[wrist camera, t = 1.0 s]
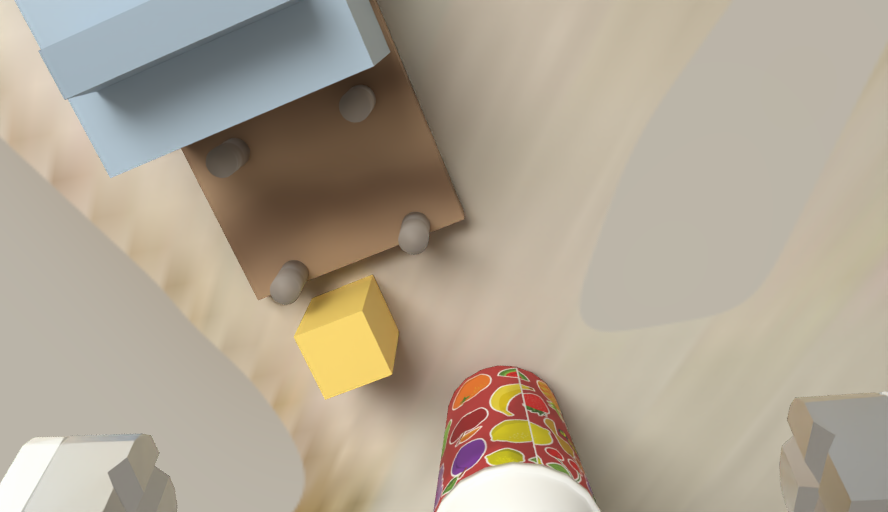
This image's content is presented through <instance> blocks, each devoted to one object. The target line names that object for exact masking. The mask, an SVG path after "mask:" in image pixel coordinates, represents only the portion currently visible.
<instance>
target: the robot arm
mask: <svg viewBox="0 0 888 512" xmlns="http://www.w3.org/2000/svg"><path fill="white" fill-rule="evenodd" d="M787 421H788V424H789V426H790V428H791V431H792V433H793V436H792V437H791V438H790V439H789V440H788V441H786V442H785V443H784V444H783V445H782V449H781V456H780V462H779V469H780V483H781V489H782V493H783V497H784V501H785V505H786V507H787V510H788V512H888V392H880V393H875V392H874V393H858V394H842V395H827V396H811V397H796V398H795V399H794V400H793V402H792V403H791V405H790V408H789V413H788V417H787ZM158 456H159V451H158V449H157V447H156V445H155V443H154V440H153V438H152V436H151V435H146V434H116V435H115V434H114V435H78V436H69V437H34V438H33V439H31V440H30V441H28V442H27V443H26V444H24V445H23V446H22V448H21V449H20V451H19V453H18V454H17V456H16V458H15V460H14V461H13V463H12V464H11V466H10V468H9V470H8V471H7V473H6V475H5V476H4V478H3V480H2V481H1V483H0V512H177V500H176V494H175V488H174V486H173V483H172V481H171V479H170V476H169V475H167V474H166V473H164V472H163V471H161V470H160V469H158V468H157V467H155V463H156V461H157V458H158Z"/></svg>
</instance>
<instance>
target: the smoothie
mask: <svg viewBox="0 0 888 512" xmlns="http://www.w3.org/2000/svg"><path fill="white" fill-rule="evenodd" d="M434 512H601V510H600V509H599V507H598V506H597V504H596V500H595V498H594V495H593V492H592V490H591V487H590V485H589V482H588V480H587V477H586V475H585V472H584V470H583V467H582V464H581V462H580V459H579V457H578V454H577V452H576V449H575V447H574V444H573V442H572V439H571V437H570V434H569V431H568V429H567V426H566V424H565V421H564V419H563V416H562V414H561V411H560V409H559V406H558V404H557V401H556V398H555V396H554V394H553V393H552V391H551V390H550V388H549V387H548V385H547V384H546V383H545V382H544V381H543V380H541V379H540V378H539V377H537V376H536V375H535V374H533V373H532V372H529V371H526V370H523V369H520V368H518V367H512V366H495V367H491V368H486V369H483V370H480V371H478V372H477V373H475V374H473V375H472V376H470V377H468V378H467V379H465V380H464V382H463V383H462V384H461V385H460V386H459V387H458V388H457V389H456V391H455V392H454V394H453V396H452V399H451V401H450V404H449V406H448V414H447V421H446V428H445V435H444V442H443V449H442V456H441V463H440V470H439V477H438V484H437V491H436V498H435V505H434Z"/></svg>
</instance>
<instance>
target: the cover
mask: <svg viewBox="0 0 888 512" xmlns="http://www.w3.org/2000/svg"><path fill="white" fill-rule="evenodd" d="M15 2H16V4H17V6H18V8H19V9H20V11H21V13H22V15H23V17H24V19H25V21H26V22H27V24H28V26H29V28H30V30H31V32H32V34H33V35H34V37H35V39H36V41H37V43H38V45H39V47H40V48H41V50H39V53H40V55H41V57H42V59H43V61H44V62H45V64H46V66H47V68H48V70H49V72H50V74H51V75H52V77H53V79H54V81H55V83H56V85H57V87H58V88H59V90H60V92H61V94H62V96H63V98H64V99H65V100H66V99H68V100H69V102H70V104H71V106H72V108H73V110H74V112H75V113H76V115H77V117H78V119H79V121H80V123H81V125H82V126H83V128H84V130H85V132H86V134H87V136H88V138H89V139H90V141H91V143H92V145H93V147H94V149H95V151H96V152H97V154H98V156H99V158H100V160H101V162H102V163H103V165H104V167H105V169H106V171H107V173H108V175H109V176H110V178H112V177H114V176H116V175H119V174H121V173H124V172H126V171H128V170H131V169H133V168H135V167H138V166H140V165H142V164H145V163H147V162H149V161H152V160H154V159H156V158H159V157H161V156H164V155H166V154H168V153H171V152H173V151H175V150H178V149H180V148H182V147H185V146H187V145H189V144H192V143H194V142H197V141H199V140H201V139H204V138H206V137H208V136H211V135H213V134H215V133H218V132H220V131H222V130H225V129H227V128H230V127H232V126H234V125H237V124H239V123H241V122H244V121H246V120H248V119H251V118H253V117H255V116H258V115H260V114H262V113H265V112H267V111H270V110H272V109H274V108H277V107H279V106H281V105H284V104H286V103H288V102H291V101H293V100H295V99H298V98H300V97H303V96H305V95H307V94H310V93H312V92H314V91H317V90H319V89H321V88H324V87H326V86H328V85H331V84H333V83H336V82H338V81H340V80H343V79H345V78H347V77H350V76H352V75H354V74H357V73H359V72H361V71H364V70H366V69H368V68H371V67H373V66H375V65H376V64H377V63H378V62H380V61H381V60H382V59H383V58H384V57H386V56H387V55H388V54H389V53H390V50H389V47H388V45H387V42H386V40H385V38H384V35H383V33H382V30H381V28H380V26H379V23H378V21H377V19H376V16H375V14H374V11H373V9H372V7H371V4H370V2H369V0H15Z"/></svg>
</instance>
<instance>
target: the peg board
mask: <svg viewBox="0 0 888 512" xmlns="http://www.w3.org/2000/svg"><path fill="white" fill-rule="evenodd" d="M369 2H370V4H371V7H372V9H373V11H374V14H375V16H376V19H377V21H378V23H379V26H380V28H381V30H382V33H383V35H384V38H385V40H386V42H387V45H388V47H389V50H390V53H389V54H388V55H387V56H386V57H384V58H383V59H382V60H381V61H380V62H378V63H377V64H376V65H375V66H373V67H371V68H368V69H366V70H364V71H361V72H359V73H357V74H354V75H352V76H350V77H347V78H345V79H343V80H340V81H338V82H336V83H333V84H331V85H328V86H326V87H324V88H321V89H319V90H317V91H314V92H312V93H310V94H307V95H305V96H303V97H300V98H298V99H295V100H293V101H291V102H288V103H286V104H284V105H281V106H279V107H277V108H274V109H272V110H270V111H267V112H265V113H262V114H260V115H258V116H255V117H253V118H251V119H248V120H246V121H244V122H241V123H239V124H237V125H234V126H232V127H230V128H227V129H225V130H222V131H220V132H218V133H215V134H213V135H211V136H208V137H206V138H204V139H201V140H199V141H197V142H194V143H192V144H189V145H187V146H185V147H182V148H181V149H182V151H183V153H184V155H185V157H186V159H187V161H188V163H189V165H190V167H191V169H192V171H193V173H194V175H195V177H196V179H197V181H198V183H199V185H200V187H201V189H202V191H203V192H204V194H205V196H206V198H207V200H208V202H209V204H210V206H211V208H212V210H213V212H214V214H215V216H216V218H217V220H218V222H219V224H220V226H221V228H222V230H223V232H224V234H225V236H226V238H227V240H228V242H229V244H230V246H231V248H232V250H233V252H234V254H235V256H236V257H237V259H238V261H239V263H240V265H241V267H242V269H243V271H244V273H245V275H246V277H247V279H248V281H249V283H250V285H251V287H252V289H253V291H254V293H255V295H256V297H257V299H258V300H260V299H263V298H265V297H268V296H270V295H271V296H272V298H273V299H274V300H275V301H276V302H278V303H280V304H284V305H287V304H291V303H293V302H294V301H296V299H297V298H298V296H299V294H300V292H301V290H302V289H303V287H304V285H305V283H306V281H308V280H311V279H314V278H316V277H319V276H321V275H324V274H326V273H329V272H331V271H334V270H336V269H339V268H341V267H344V266H347V265H349V264H352V263H354V262H357V261H359V260H362V259H364V258H367V257H369V256H372V255H374V254H377V253H380V252H382V251H385V250H387V249H390V248H392V247H395V246H397V245H399V246H400V247H401V249H402V250H403V251H404V252H406V253H408V254H413V255H414V254H419V253H421V252H423V251H424V250H425V249H426V247H427V245H428V240H429V233H430V232H433V231H435V230H438V229H441V228H443V227H446V226H448V225H451V224H453V223H456V222H458V221H461V220H463V219H465V216H464V210H463V208H462V206H461V203H460V201H459V198H458V196H457V194H456V191H455V189H454V186H453V184H452V182H451V179H450V177H449V174H448V172H447V170H446V167H445V165H444V162H443V160H442V157H441V155H440V153H439V150H438V148H437V145H436V143H435V141H434V138H433V136H432V133H431V131H430V129H429V126H428V124H427V121H426V119H425V117H424V114H423V112H422V109H421V107H420V105H419V102H418V100H417V97H416V95H415V92H414V90H413V88H412V85H411V83H410V80H409V78H408V76H407V73H406V71H405V68H404V66H403V64H402V61H401V59H400V56H399V54H398V52H397V49H396V47H395V44H394V42H393V40H392V37H391V35H390V32H389V30H388V27H387V25H386V23H385V20H384V18H383V15H382V13H381V11H380V8H379V6H378V3H377V1H376V0H369Z"/></svg>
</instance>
